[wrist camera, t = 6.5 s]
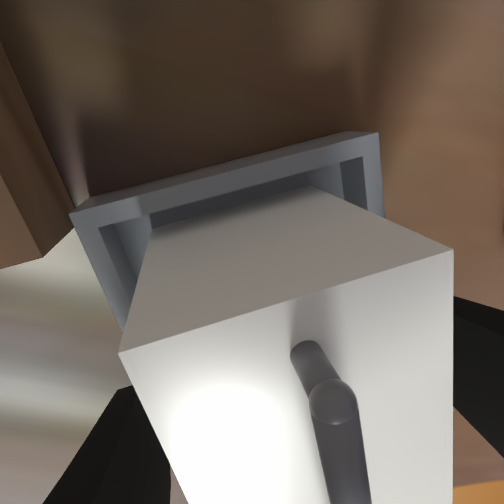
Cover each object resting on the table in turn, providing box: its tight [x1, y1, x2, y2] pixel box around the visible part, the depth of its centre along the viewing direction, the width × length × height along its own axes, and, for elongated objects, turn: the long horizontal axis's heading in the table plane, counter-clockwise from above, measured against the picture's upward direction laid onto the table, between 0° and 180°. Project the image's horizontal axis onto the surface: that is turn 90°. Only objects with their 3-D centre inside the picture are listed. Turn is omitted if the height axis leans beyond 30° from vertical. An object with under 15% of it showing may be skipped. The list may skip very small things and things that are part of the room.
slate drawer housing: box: [69, 131, 385, 333], centre depth 11 cm, size 8×10×2 cm
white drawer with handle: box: [118, 185, 453, 504], centre depth 8 cm, size 5×7×7 cm
